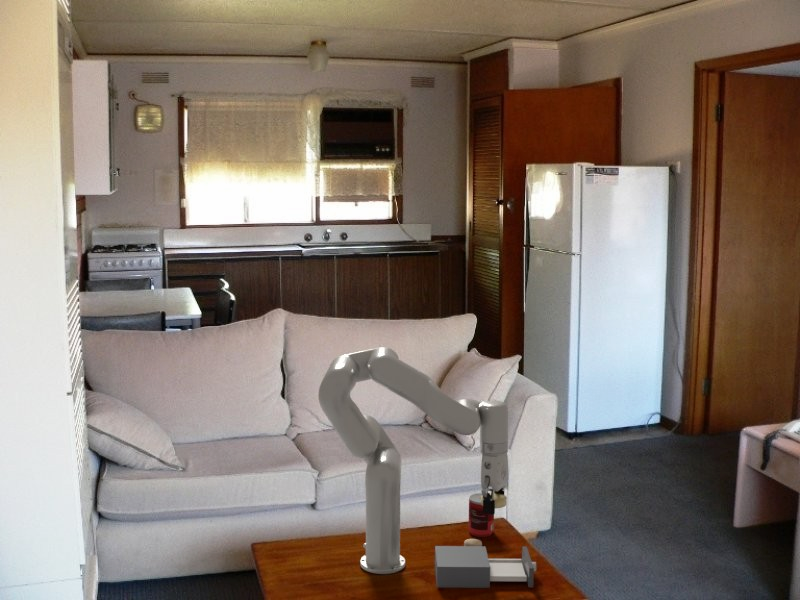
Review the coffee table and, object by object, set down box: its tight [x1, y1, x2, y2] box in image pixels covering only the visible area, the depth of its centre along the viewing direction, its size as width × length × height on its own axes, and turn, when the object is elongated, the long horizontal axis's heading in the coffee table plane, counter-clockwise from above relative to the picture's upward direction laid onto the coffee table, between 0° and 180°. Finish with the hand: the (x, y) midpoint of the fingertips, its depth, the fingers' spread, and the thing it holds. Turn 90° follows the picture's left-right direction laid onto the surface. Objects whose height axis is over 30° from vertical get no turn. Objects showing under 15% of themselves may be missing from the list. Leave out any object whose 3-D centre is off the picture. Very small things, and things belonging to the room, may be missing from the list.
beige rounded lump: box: [463, 538, 483, 546], centre depth 265 cm, size 5×5×4 cm
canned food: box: [468, 492, 495, 538], centre depth 282 cm, size 8×8×11 cm
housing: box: [434, 545, 491, 589], centre depth 253 cm, size 14×13×6 cm
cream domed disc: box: [481, 492, 507, 509], centre depth 256 cm, size 7×7×2 cm
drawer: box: [488, 546, 537, 588], centre depth 253 cm, size 16×14×5 cm
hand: (493, 508), depth 256 cm, fingers closed on cream domed disc, 7 cm apart
